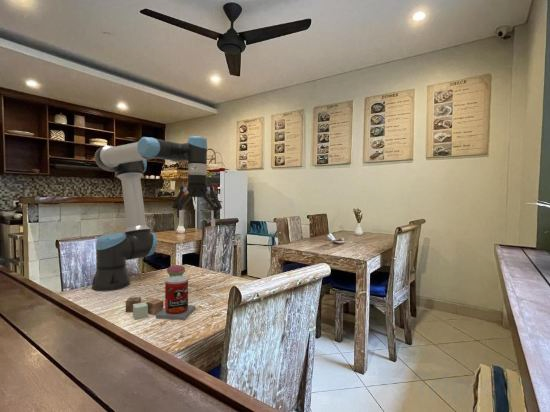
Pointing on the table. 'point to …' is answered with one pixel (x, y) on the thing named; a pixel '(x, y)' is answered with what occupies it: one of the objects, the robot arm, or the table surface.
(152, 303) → the teak block
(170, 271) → the cupcake
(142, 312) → the sage painted block
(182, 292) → the canned food
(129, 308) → the walnut block
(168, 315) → the plate
